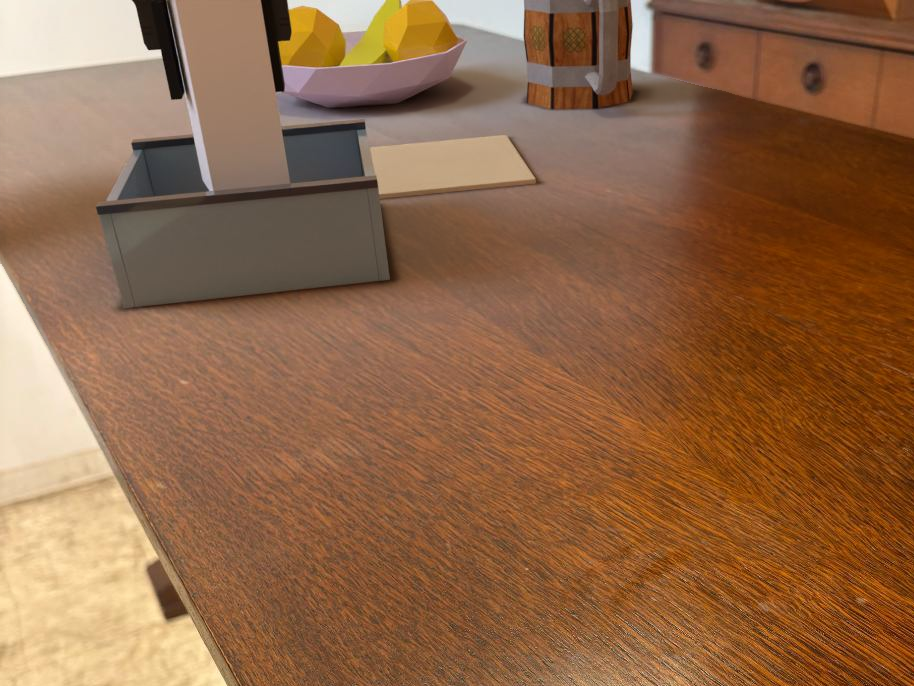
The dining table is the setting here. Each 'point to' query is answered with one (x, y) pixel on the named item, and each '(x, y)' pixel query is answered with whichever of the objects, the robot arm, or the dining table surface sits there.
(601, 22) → the mug
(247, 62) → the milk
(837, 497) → the dining table surface
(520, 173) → the mat
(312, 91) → the fruit bowl
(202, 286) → the gray open box
